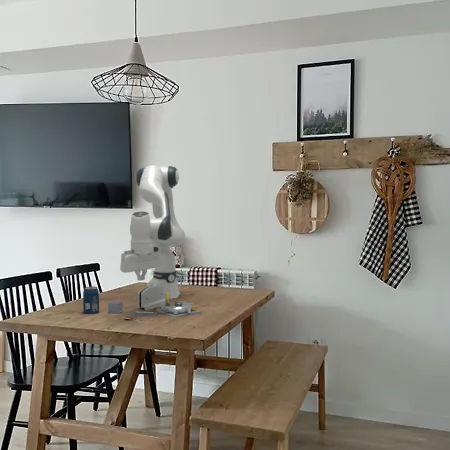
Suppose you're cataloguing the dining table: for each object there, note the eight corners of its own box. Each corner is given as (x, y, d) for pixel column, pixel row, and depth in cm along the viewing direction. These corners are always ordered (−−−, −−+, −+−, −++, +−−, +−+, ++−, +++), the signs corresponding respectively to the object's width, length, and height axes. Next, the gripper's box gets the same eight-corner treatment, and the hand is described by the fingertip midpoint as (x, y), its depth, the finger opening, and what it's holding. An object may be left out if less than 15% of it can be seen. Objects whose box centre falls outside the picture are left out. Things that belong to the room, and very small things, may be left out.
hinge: (145, 310, 240) (143, 289, 240) (137, 310, 243) (135, 289, 242) (168, 303, 254) (166, 283, 254) (160, 303, 257) (158, 283, 256)
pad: (124, 320, 224) (124, 318, 224) (132, 312, 236) (132, 310, 236) (151, 321, 223) (151, 319, 223) (158, 313, 235) (158, 311, 235)
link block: (119, 314, 234) (108, 314, 234) (122, 311, 239) (111, 311, 239) (118, 303, 233) (107, 303, 234) (122, 301, 238) (111, 300, 239)
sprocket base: (155, 311, 238) (155, 309, 238) (182, 306, 248) (182, 304, 248) (174, 318, 227) (174, 316, 227) (201, 313, 236) (201, 310, 236)
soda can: (88, 311, 239) (87, 285, 238) (102, 312, 237) (101, 286, 236) (80, 315, 232) (79, 288, 231) (94, 316, 230) (93, 289, 229)
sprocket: (157, 313, 230) (157, 295, 229) (164, 304, 246) (164, 287, 245) (193, 314, 229) (193, 295, 228) (197, 305, 245) (197, 287, 244)
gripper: (126, 252, 217) (126, 284, 218) (163, 247, 232) (163, 277, 233) (117, 250, 221) (117, 282, 222) (153, 246, 236) (154, 275, 237)
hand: (141, 279), depth 228 cm, fingers closed
